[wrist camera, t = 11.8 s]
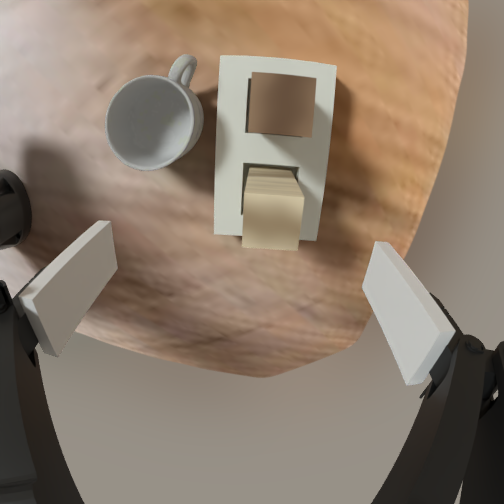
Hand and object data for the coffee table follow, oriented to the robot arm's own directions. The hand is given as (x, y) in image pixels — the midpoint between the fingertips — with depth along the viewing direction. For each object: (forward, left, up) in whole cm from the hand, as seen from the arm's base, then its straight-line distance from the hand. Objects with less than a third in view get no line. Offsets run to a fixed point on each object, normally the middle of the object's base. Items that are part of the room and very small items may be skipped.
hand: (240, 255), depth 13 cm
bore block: (+2, +2, -25) cm, 25 cm away
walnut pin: (+2, +7, -25) cm, 26 cm away
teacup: (-10, +7, -25) cm, 28 cm away
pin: (+2, -3, -24) cm, 24 cm away
